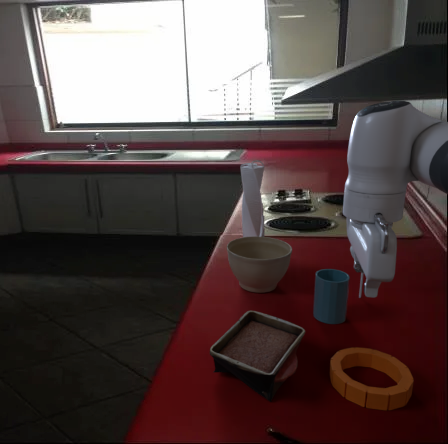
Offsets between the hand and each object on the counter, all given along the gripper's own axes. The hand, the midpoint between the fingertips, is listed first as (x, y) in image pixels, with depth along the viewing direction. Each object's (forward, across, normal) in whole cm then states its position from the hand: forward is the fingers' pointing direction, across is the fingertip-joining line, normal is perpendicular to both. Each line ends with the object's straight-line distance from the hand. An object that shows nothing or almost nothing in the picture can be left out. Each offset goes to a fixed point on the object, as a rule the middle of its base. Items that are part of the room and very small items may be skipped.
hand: (364, 282), depth 72 cm
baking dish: (+17, -5, +18) cm, 25 cm away
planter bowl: (+17, +30, +19) cm, 39 cm away
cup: (+17, +17, +3) cm, 24 cm away
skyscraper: (+17, +61, +22) cm, 67 cm away
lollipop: (+17, +27, -5) cm, 32 cm away
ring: (+17, -5, -1) cm, 18 cm away
